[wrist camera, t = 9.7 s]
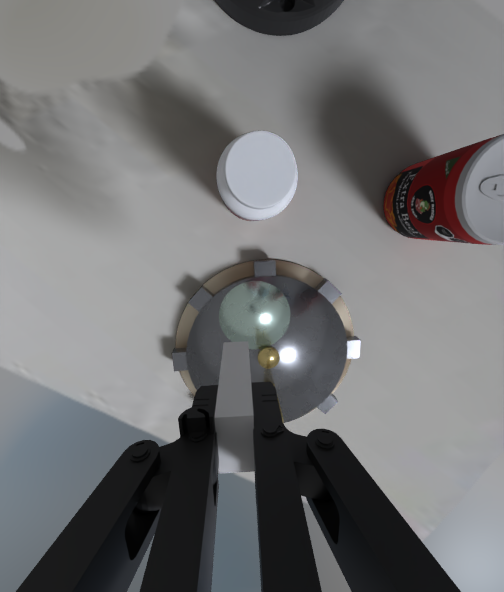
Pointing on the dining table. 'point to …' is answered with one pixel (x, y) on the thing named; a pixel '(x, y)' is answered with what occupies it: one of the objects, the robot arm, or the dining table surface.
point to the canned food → (452, 196)
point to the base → (248, 270)
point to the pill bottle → (257, 175)
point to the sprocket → (272, 337)
